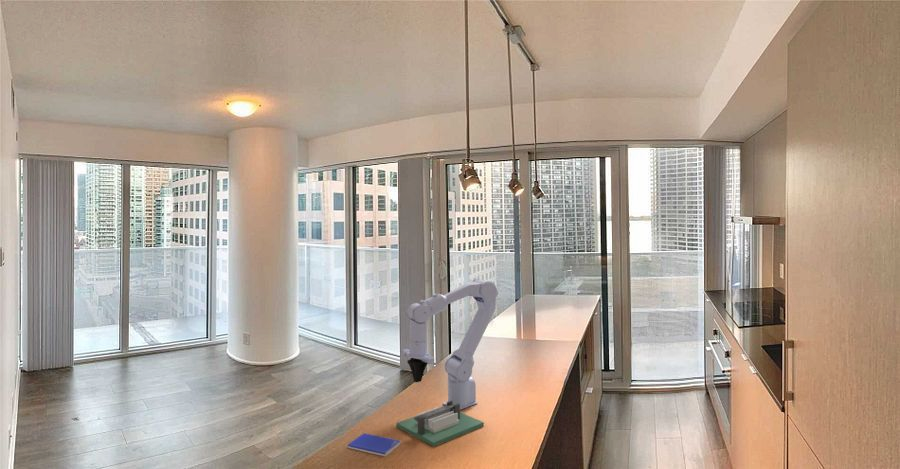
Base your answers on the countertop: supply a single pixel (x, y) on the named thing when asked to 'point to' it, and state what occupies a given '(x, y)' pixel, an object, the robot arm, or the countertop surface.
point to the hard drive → (374, 444)
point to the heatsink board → (440, 425)
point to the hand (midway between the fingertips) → (417, 381)
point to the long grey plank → (436, 412)
